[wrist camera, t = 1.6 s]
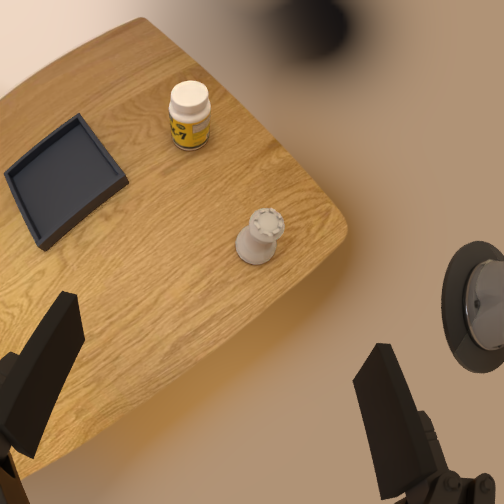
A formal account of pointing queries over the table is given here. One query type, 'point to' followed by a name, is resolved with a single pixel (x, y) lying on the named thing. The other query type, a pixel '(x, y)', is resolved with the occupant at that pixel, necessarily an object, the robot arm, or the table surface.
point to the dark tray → (63, 181)
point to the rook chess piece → (260, 236)
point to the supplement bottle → (190, 115)
